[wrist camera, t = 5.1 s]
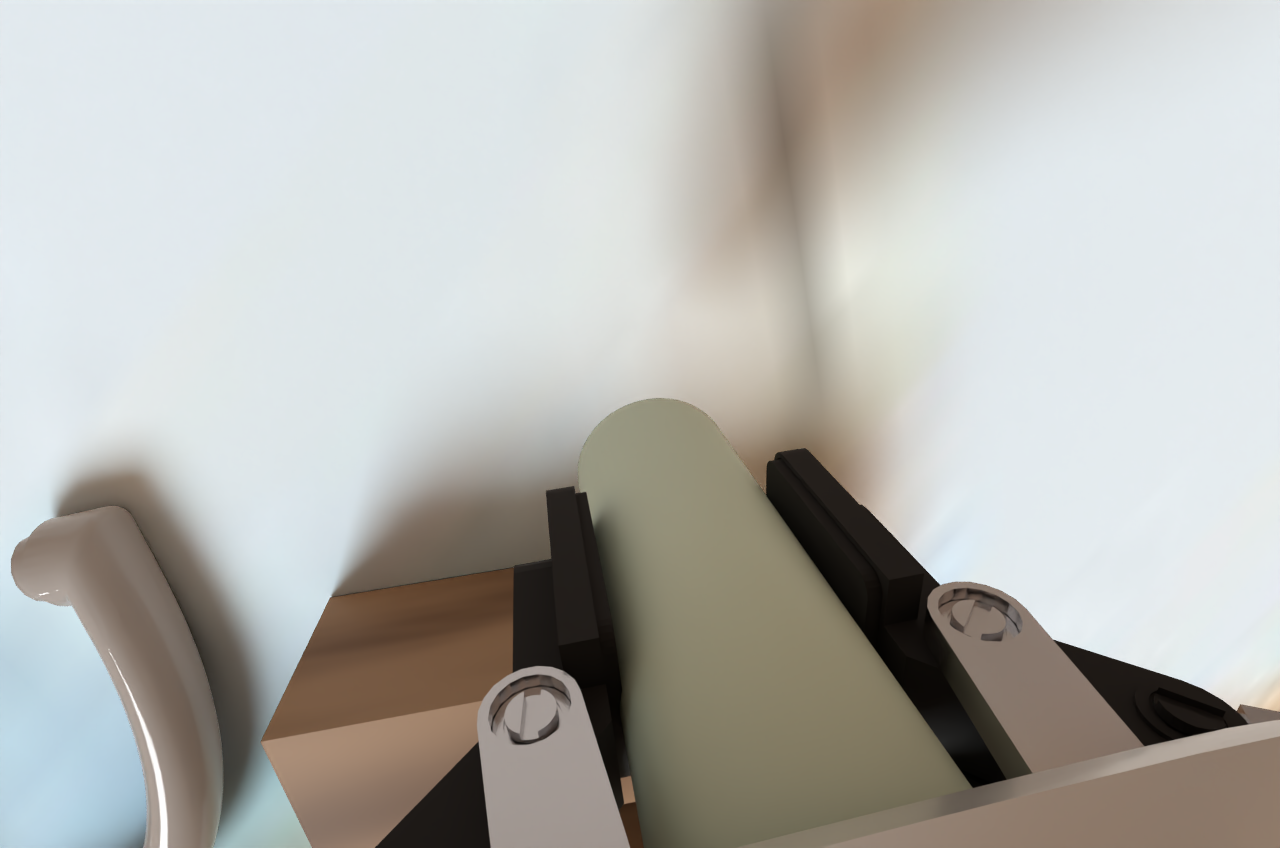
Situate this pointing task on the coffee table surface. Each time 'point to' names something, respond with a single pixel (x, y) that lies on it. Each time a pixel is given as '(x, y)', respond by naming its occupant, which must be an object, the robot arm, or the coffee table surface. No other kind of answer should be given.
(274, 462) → the coffee table surface
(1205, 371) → the coffee table surface
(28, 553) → the faucet
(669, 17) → the coffee table surface
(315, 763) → the socket block
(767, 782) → the peg
